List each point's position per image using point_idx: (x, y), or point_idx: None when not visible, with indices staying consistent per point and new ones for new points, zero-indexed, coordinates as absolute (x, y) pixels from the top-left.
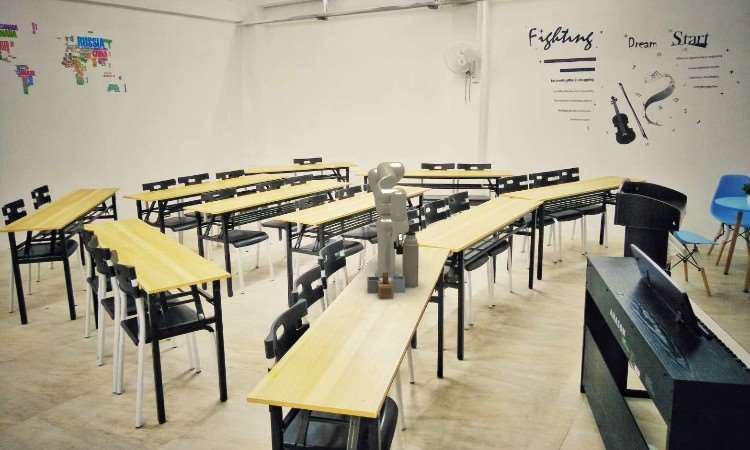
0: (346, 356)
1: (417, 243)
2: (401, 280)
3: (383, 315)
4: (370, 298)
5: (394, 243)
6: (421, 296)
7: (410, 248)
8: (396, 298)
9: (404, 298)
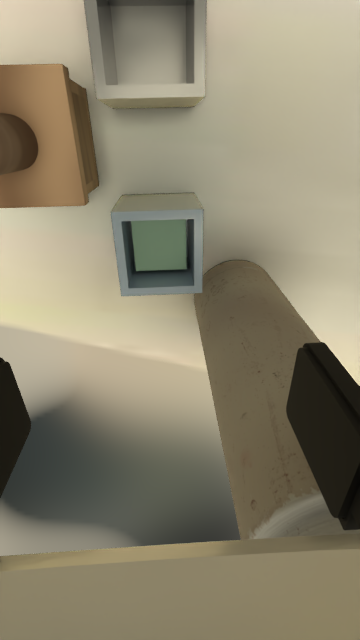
0: None
1: None
2: (119, 272)
3: None
4: (18, 16)
5: (342, 415)
6: (89, 332)
7: (240, 506)
8: (46, 211)
9: (52, 254)
